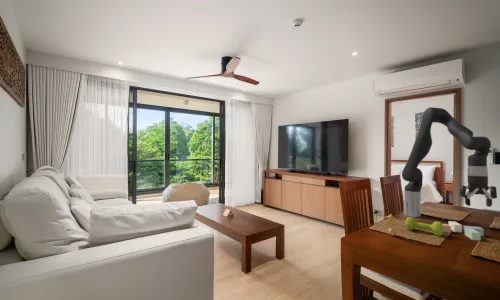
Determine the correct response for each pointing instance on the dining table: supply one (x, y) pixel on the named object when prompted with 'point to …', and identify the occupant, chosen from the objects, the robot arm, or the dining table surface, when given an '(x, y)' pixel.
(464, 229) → the slate brick
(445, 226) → the terracotta brick
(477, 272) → the dining table surface
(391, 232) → the figurine
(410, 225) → the dumbbell
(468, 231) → the sage brick
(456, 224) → the cream brick
